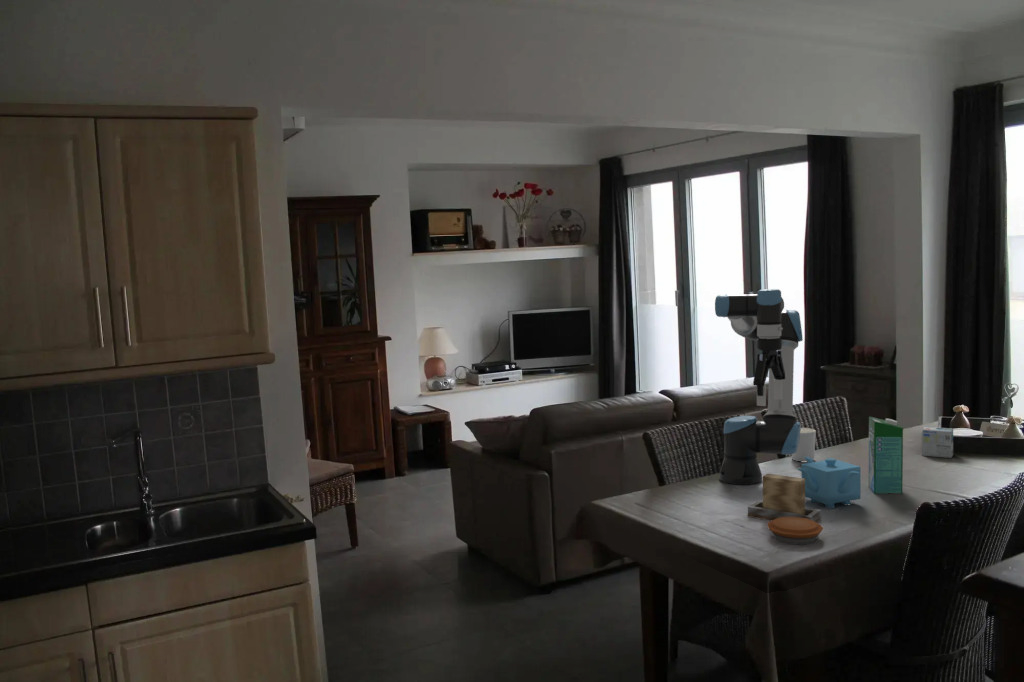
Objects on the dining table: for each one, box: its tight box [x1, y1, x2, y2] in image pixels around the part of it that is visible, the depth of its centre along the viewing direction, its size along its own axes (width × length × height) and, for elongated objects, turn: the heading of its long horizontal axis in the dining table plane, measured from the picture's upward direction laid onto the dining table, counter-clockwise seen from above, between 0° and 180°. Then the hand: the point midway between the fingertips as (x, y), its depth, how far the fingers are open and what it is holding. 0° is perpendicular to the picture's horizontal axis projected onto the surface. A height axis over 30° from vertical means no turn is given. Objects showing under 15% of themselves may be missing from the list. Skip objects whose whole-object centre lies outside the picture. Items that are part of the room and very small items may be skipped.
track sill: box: [747, 500, 822, 523], centre depth 264 cm, size 20×9×3 cm, turn 51°
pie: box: [767, 517, 824, 545], centre depth 246 cm, size 15×16×5 cm
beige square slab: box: [762, 473, 806, 515], centre depth 264 cm, size 12×4×12 cm, turn 51°
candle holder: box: [791, 427, 817, 462], centre depth 336 cm, size 10×10×12 cm
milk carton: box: [868, 416, 904, 495], centre depth 289 cm, size 9×9×25 cm
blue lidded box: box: [797, 457, 862, 509], centre depth 278 cm, size 19×19×15 cm
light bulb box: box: [921, 426, 954, 459], centre depth 335 cm, size 11×7×11 cm, turn 58°
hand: (769, 402), depth 273 cm, fingers open, 13 cm apart
